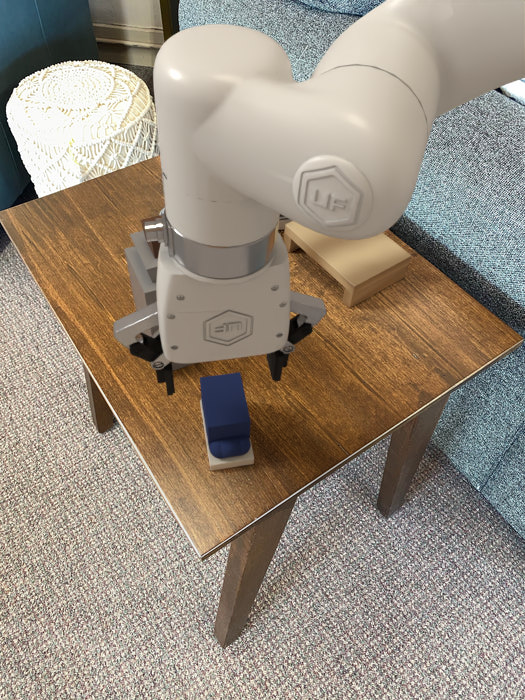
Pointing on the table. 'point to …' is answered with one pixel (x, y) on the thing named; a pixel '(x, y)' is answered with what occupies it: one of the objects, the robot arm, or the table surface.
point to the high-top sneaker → (226, 421)
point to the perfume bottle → (145, 274)
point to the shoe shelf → (352, 260)
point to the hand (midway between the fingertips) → (222, 375)
